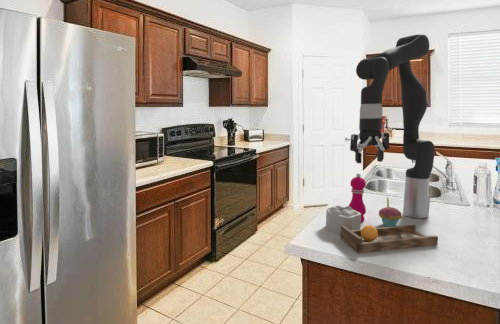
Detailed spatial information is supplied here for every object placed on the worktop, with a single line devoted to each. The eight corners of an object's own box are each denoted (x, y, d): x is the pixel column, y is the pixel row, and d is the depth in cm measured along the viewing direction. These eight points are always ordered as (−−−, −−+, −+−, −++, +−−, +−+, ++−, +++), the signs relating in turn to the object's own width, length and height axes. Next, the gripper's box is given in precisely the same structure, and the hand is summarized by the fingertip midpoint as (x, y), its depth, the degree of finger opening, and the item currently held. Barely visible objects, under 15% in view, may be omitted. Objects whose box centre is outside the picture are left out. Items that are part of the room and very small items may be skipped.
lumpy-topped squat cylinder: (347, 237, 120) (348, 214, 119) (319, 227, 130) (320, 206, 129) (363, 231, 126) (364, 209, 125) (336, 222, 136) (336, 201, 135)
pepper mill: (366, 223, 134) (369, 175, 131) (348, 222, 136) (350, 175, 132) (364, 218, 141) (366, 172, 138) (346, 217, 143) (348, 171, 139)
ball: (371, 237, 117) (372, 222, 116) (380, 243, 112) (381, 227, 111) (357, 238, 116) (357, 223, 115) (366, 245, 111) (366, 229, 110)
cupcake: (390, 230, 127) (392, 200, 125) (373, 223, 134) (374, 194, 132) (405, 226, 131) (407, 197, 129) (387, 220, 138) (389, 192, 136)
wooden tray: (413, 232, 125) (414, 219, 124) (437, 244, 113) (438, 230, 112) (340, 239, 119) (340, 225, 118) (358, 253, 107) (358, 238, 106)
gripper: (381, 115, 121) (380, 159, 124) (347, 117, 118) (346, 161, 121) (395, 116, 114) (393, 162, 117) (358, 118, 111) (357, 165, 114)
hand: (369, 162), depth 119 cm, fingers open, 8 cm apart
